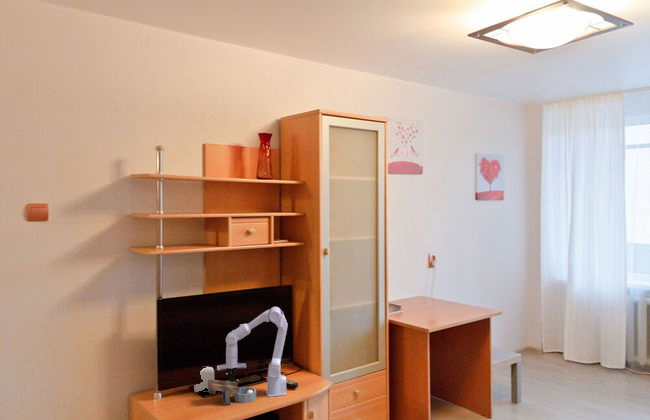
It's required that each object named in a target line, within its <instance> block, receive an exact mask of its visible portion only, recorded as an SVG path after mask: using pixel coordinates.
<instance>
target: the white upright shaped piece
mask: <svg viewBox="0 0 650 420" xmlns="http://www.w3.org/2000/svg"><path fill="white" fill-rule="evenodd" d="M205 367H206V368H203V369H202V370H201V371H200V375H201V379H202V380H203V382H201V383H200V384H196V385H194V384H193V390H194V393H200V392H199V391H202V390H204V389H205V388H207V389H208V380H209V379H210V380H215V369H214V368H213V367H212V366H205Z"/></svg>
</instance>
